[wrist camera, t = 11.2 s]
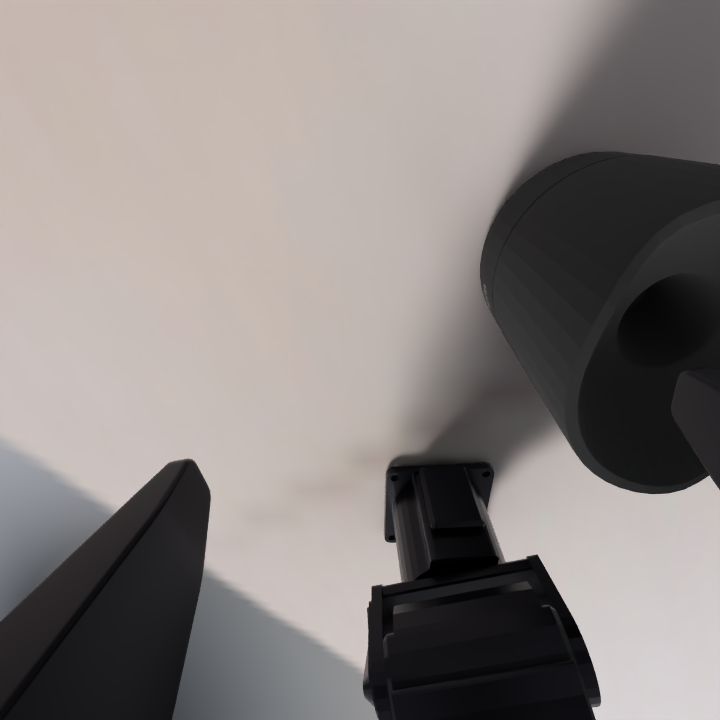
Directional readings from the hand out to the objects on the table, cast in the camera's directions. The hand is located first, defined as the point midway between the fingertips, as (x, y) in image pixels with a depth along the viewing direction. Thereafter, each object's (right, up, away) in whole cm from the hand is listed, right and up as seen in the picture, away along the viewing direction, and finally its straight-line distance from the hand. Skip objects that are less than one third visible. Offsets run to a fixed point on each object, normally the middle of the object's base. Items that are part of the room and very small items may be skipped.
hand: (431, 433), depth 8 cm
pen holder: (+8, +6, +12) cm, 16 cm away
